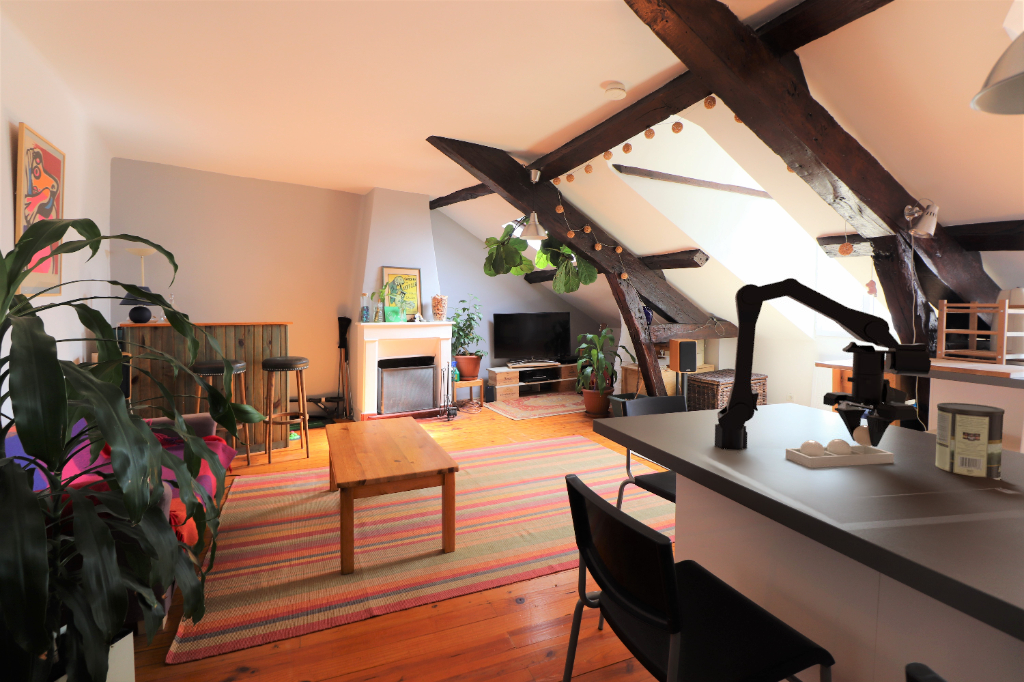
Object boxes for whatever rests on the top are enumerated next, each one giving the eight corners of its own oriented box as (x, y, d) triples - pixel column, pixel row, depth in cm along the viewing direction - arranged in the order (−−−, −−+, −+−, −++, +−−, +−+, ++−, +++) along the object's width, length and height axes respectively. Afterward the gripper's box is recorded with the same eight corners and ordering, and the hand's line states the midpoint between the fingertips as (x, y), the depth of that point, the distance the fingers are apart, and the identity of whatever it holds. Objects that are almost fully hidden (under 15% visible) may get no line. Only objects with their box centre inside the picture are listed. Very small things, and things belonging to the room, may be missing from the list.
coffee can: (977, 468, 109) (981, 403, 108) (1014, 484, 98) (1018, 412, 98) (922, 465, 111) (926, 401, 110) (953, 480, 101) (957, 410, 100)
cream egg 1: (810, 465, 107) (811, 443, 107) (794, 458, 112) (795, 438, 111) (829, 464, 108) (830, 442, 108) (813, 457, 112) (814, 437, 112)
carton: (809, 471, 106) (809, 457, 105) (785, 461, 113) (785, 448, 113) (893, 467, 109) (893, 453, 109) (864, 457, 116) (865, 444, 116)
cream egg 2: (837, 463, 108) (838, 442, 108) (821, 457, 113) (821, 437, 112) (856, 462, 109) (857, 441, 109) (839, 456, 113) (840, 436, 113)
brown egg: (865, 449, 109) (865, 428, 109) (847, 443, 114) (848, 423, 113) (883, 448, 110) (884, 427, 110) (865, 443, 114) (866, 422, 114)
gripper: (941, 378, 103) (937, 453, 104) (863, 368, 121) (860, 432, 122) (894, 379, 101) (891, 456, 102) (822, 369, 120) (820, 434, 120)
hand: (865, 443), depth 112 cm, fingers closed on brown egg, 4 cm apart
